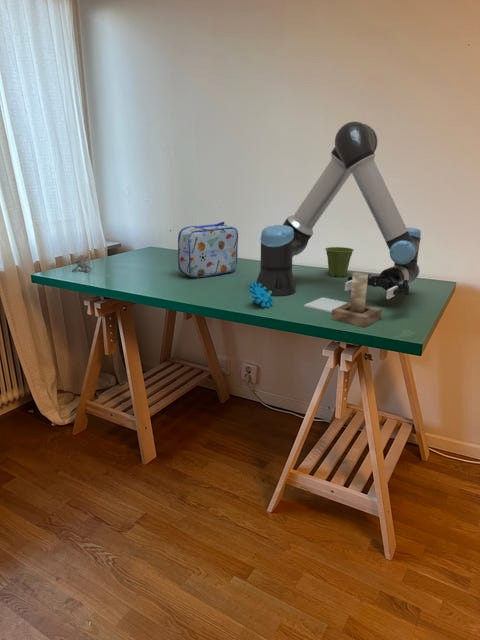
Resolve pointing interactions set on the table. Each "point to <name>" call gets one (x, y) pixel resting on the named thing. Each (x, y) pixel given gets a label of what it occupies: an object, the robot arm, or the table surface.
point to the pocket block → (356, 315)
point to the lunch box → (207, 250)
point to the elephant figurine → (82, 264)
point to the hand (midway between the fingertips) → (366, 290)
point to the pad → (325, 304)
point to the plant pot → (338, 260)
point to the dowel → (358, 292)
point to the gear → (260, 295)
